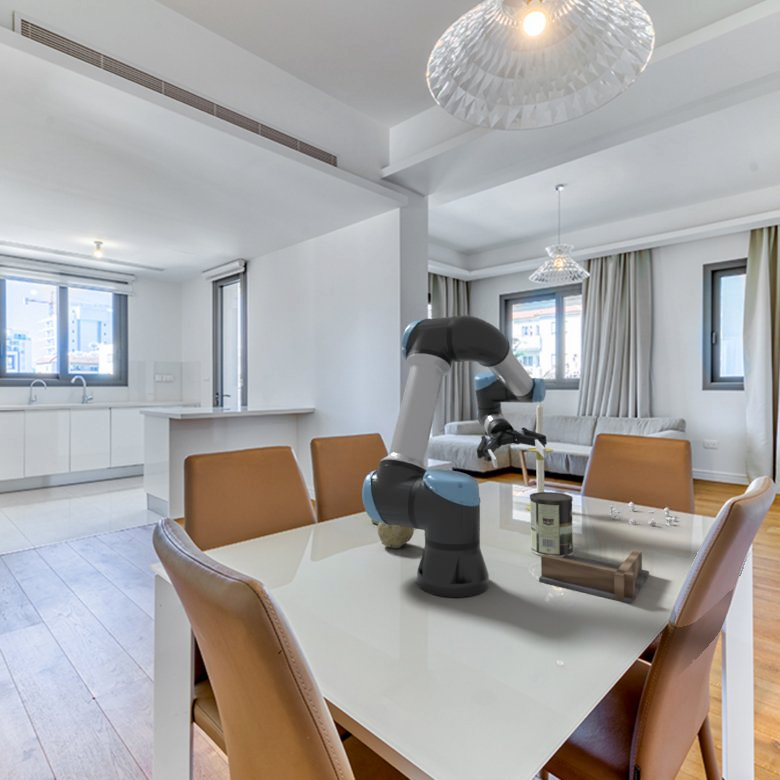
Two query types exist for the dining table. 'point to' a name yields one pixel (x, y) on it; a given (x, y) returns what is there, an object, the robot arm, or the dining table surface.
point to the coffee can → (551, 524)
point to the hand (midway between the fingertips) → (520, 458)
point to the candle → (538, 456)
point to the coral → (394, 535)
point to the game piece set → (649, 511)
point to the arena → (596, 575)
